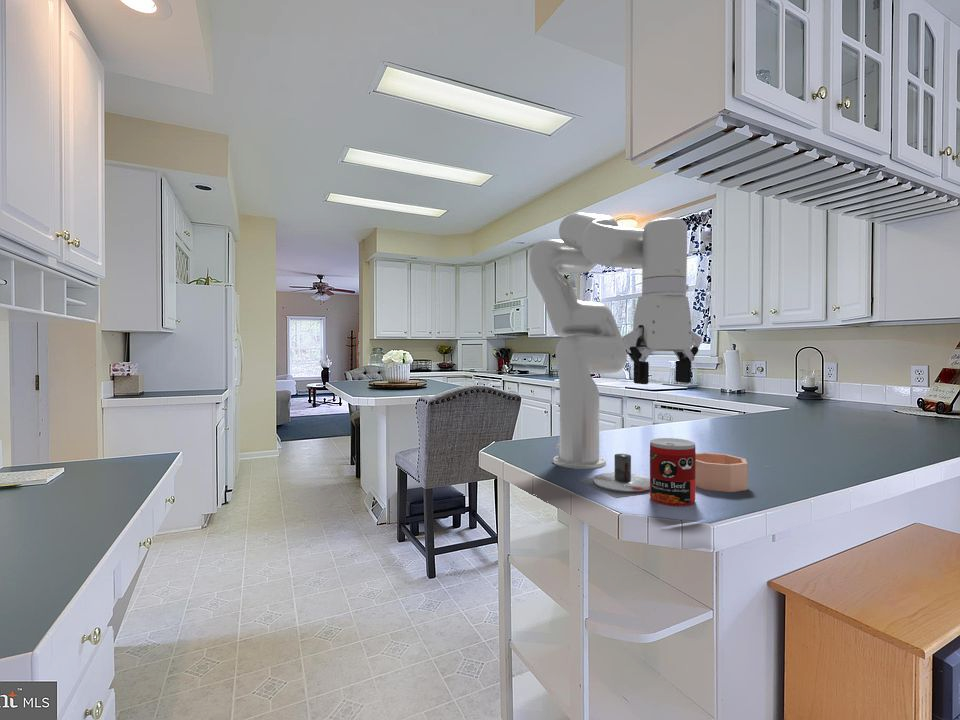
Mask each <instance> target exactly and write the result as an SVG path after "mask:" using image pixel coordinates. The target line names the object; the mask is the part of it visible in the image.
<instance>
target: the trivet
mask: <svg viewBox="0 0 960 720" xmlns="http://www.w3.org/2000/svg"><path fill="white" fill-rule="evenodd" d="M593 478H594V477H590V478H582V479H580V478H579V479H577V481H579V482H581V483H583V484H585V485H587V486H590V487H591V488H593V489H596V490H598V491H600V492H602V493H604V494H607V495H608V496H610V497H613V498H615V499H618V498H627V497H633V496H634V497H635V496H640V495H641V496H642V495H650V491H648V492H644V493H618V492H612V491H607V490H603V489H600V488H598V487H596V486H595V485H594V484H593Z"/></svg>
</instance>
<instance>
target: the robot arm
mask: <svg viewBox="0 0 960 720" xmlns="http://www.w3.org/2000/svg"><path fill="white" fill-rule="evenodd" d="M558 234H559V237H560V239H556V238H553V239H551V238H549V239H542V240H540V241H538V242H536V243H535V244H533V246H532V248H531V249H530V253H529V269H530V275H531V278H532V281H533V283H534V285H535V286H536V288H537V290H538V291H539V293H540V295H541V297H542V300H543V303H544V306H545V309H546V312H547V313H546V314H547V316H548V318H549V322H550V324H551V327H552V330H553V331H554V333H555V335H556V336H558V337H561V339H560V340H559V341H558V342H557V345H556V348H555V360H556V367H557V371H558V382H559V442H558V443H557V444H555V445H556V446H555V448H556V449H557V450H558V451H559V452H558V453H559V454H558V455H556V456H554V457H553V458H552V459H553V464H555V465H556V466H559V467H563V468H568V469H575V470H576V469H579V470H590V469H592V470H593V469H594V470H595V469H601V468H603V467H605V466H606V464H607V460H606V459H605V458H604V457H602V456H600V391H599V388H598V385H597V383H596V382H595V380H594V379H593V377H592V375H596V374H597V375H598V374H614V373H618V372H620V371H621V370H623V369H624V368H625V366H626V364H627V361H628V360H627V359H628V356H629V357H630V361H632V362H633V383H634V384H639V385H648V384H649V376H650V375H649V374H650V373H649V369H650V366H649V365H650V363H649V361H647V359H648V358H649V356H650V355H651V353H652V352H673V353H674V355H675V356H676V357H677V359H678V360H676V361H675V381H676V383H684V384H685V383H686V384H690V383H691V381H692V362H694V361H695V357H696V355H697V354H698V352H699V348H700V345H701V343H702V341H703V339H702V337H701V336H699V335H698V334H697V333H695V331H693V330H692V315H691V307H690V301H689V297H688V296H687V292H688V290H689V288H690V287H689V285H688V284H687V278H688V277H687V272H688V269H687V268H688V264H687V263H688V227H687V223H686V222H685V220H683V219H681V218H675V217H665V218H659V219H654V220H652V221H648V223H646V224H645V225H644V227H643V228H633V227H621V226H619V224H618V222H617V220H615V218H613V217H612V216H610V215H605V214H597V213H588V212H587V213H586V212H575V213H570V214H569V215H567V216H565V217H563V219H562V220H561V222H560V224H559V227H558ZM597 265H600V266H603V267H610V268H625V269H626V268H628V269H639V270H640V269H642V271H641V274H642V275H641V276H642V278H641V282H642V283H641V296H638V298H637V301H636V305H635V311H634V317H633V323H632V326H633V327H632V331H630V332H628V333H627V334H625V335H623V336H622V333H621V331H620V328H619V326H618V324H617V322H616V319H615V316H614V315H613V312H612V311H611V309H610V308H609V307H608V306H607V305H606V304H604V303H601V302H597V301H583V300H580V299H579V298H578V296H577V294H576V291H575V289H574V287H573V285H572V284H571V282H570V281H569V280H568V279H567V278H566V277H564V276H563V274H561V273H567V274H569V273H572V274H586V273H589V272H590V271H592V270H593V269H594V268H595V267H596V266H597Z"/></svg>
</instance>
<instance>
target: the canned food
mask: <svg viewBox="0 0 960 720" xmlns="http://www.w3.org/2000/svg"><path fill="white" fill-rule="evenodd" d="M649 442H650V443H649V479H650V494H649V497H650V499H651V500H652V502H655V503H656V504H660V505H664V506H670V507H688V506H692V505H694V503H695V501H696V486H695V467H696V453H697V452H696V443H695V442H693V441H692V440H688V439H682V438H676V437H675V438H674V437H664V438H663V437H662V438H661V437H660V438H653V439H651V440H650V441H649Z"/></svg>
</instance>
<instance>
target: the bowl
mask: <svg viewBox="0 0 960 720" xmlns="http://www.w3.org/2000/svg"><path fill="white" fill-rule="evenodd" d="M748 470H749V469H748V462H747V460H746V458H744V457H739V456H737V455H736V456H734V455H731V454H726V453H715V452H714V453H713V452H698V453H697V452H696V467H695V488H699V489H702V490H705V491H716V492H725V493H737V492H742V491H743V492H744V491H748V484H749V483H748V482H749V481H748V479H749V477H748V476H749V475H748V474H749V473H748Z"/></svg>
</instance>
